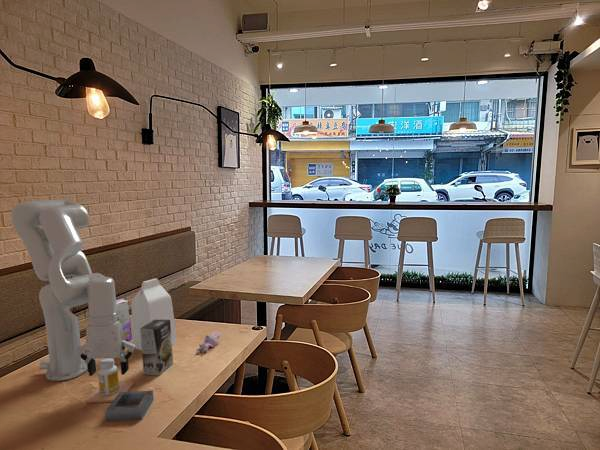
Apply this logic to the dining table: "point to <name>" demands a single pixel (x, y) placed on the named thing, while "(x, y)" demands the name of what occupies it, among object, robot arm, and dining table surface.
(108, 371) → the supplement bottle
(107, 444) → the dining table surface
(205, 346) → the rabbit figure
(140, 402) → the sleeve
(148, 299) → the milk
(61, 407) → the dining table surface
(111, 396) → the pad
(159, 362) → the coffee box
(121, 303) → the candy box
